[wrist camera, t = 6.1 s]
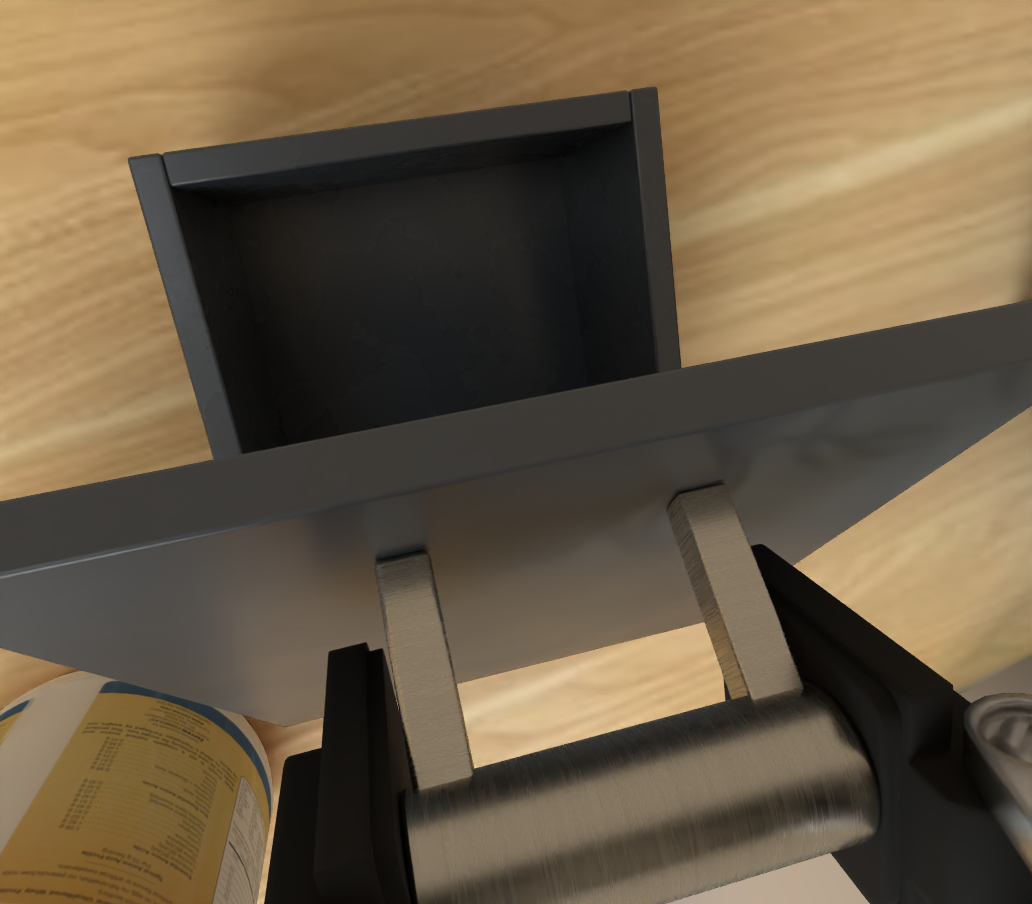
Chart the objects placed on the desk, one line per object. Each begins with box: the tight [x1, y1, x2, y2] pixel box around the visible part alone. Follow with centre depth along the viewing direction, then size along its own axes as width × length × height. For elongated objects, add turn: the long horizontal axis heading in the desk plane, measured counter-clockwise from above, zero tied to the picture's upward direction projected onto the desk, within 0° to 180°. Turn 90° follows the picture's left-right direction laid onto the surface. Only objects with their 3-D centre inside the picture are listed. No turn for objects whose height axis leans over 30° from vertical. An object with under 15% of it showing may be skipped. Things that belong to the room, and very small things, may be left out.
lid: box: [0, 300, 1032, 904], centre depth 14 cm, size 16×14×5 cm
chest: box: [128, 87, 681, 460], centre depth 25 cm, size 16×14×9 cm
